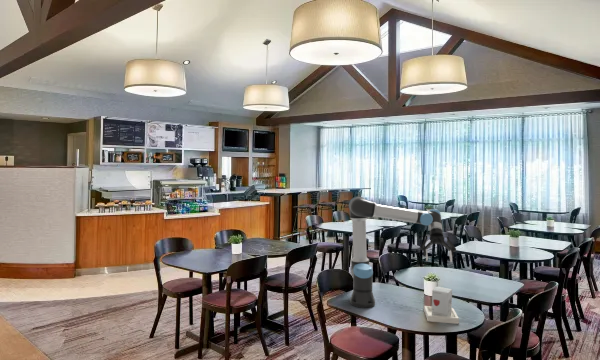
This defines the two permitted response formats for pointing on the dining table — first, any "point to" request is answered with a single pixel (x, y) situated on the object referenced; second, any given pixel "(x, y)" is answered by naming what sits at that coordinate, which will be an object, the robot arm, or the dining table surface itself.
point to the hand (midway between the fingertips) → (439, 260)
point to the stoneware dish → (443, 319)
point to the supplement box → (441, 301)
